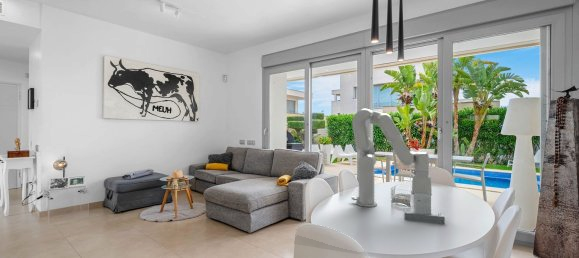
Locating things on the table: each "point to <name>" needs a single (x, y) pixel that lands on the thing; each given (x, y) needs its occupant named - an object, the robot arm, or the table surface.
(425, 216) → the charging dock
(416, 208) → the small box
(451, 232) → the table surface
